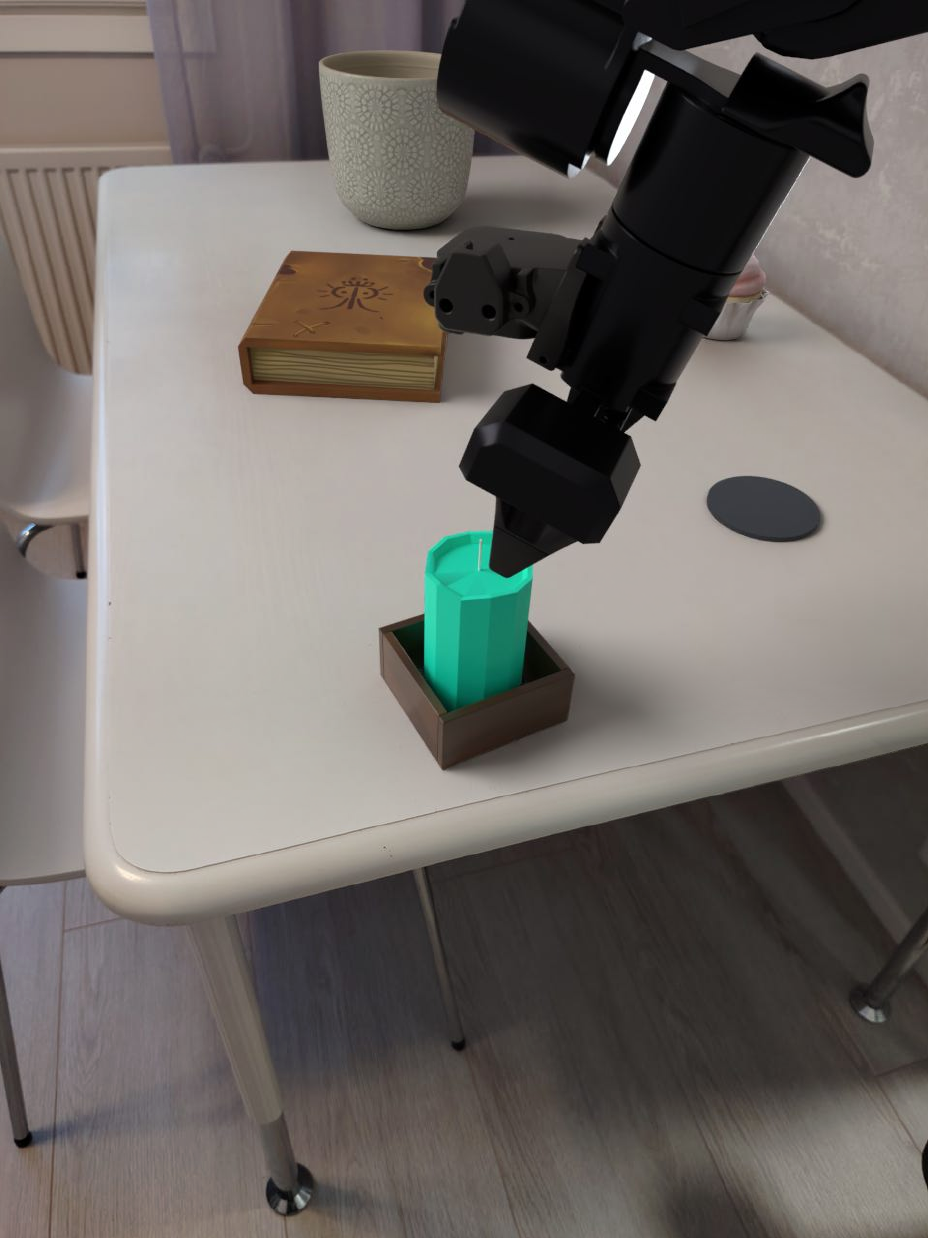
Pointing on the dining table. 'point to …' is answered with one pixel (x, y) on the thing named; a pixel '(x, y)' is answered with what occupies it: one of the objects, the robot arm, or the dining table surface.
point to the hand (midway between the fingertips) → (529, 521)
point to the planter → (393, 138)
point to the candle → (472, 622)
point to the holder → (482, 720)
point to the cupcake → (741, 303)
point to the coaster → (763, 508)
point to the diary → (346, 330)
